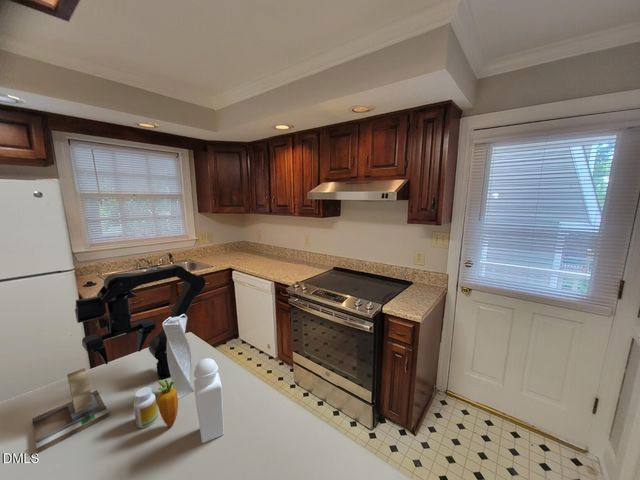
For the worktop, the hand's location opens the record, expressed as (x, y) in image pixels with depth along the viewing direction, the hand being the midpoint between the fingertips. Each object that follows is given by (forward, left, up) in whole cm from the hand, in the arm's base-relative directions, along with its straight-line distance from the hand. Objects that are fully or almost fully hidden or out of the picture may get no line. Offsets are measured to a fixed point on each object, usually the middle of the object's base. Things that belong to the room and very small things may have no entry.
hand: (123, 357), depth 89 cm
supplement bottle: (-6, +18, -13) cm, 23 cm away
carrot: (-12, +24, -13) cm, 30 cm away
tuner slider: (+10, +6, -11) cm, 16 cm away
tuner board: (+14, +5, -13) cm, 20 cm away
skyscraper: (-16, +10, -13) cm, 23 cm away
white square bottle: (-22, +32, -13) cm, 41 cm away
